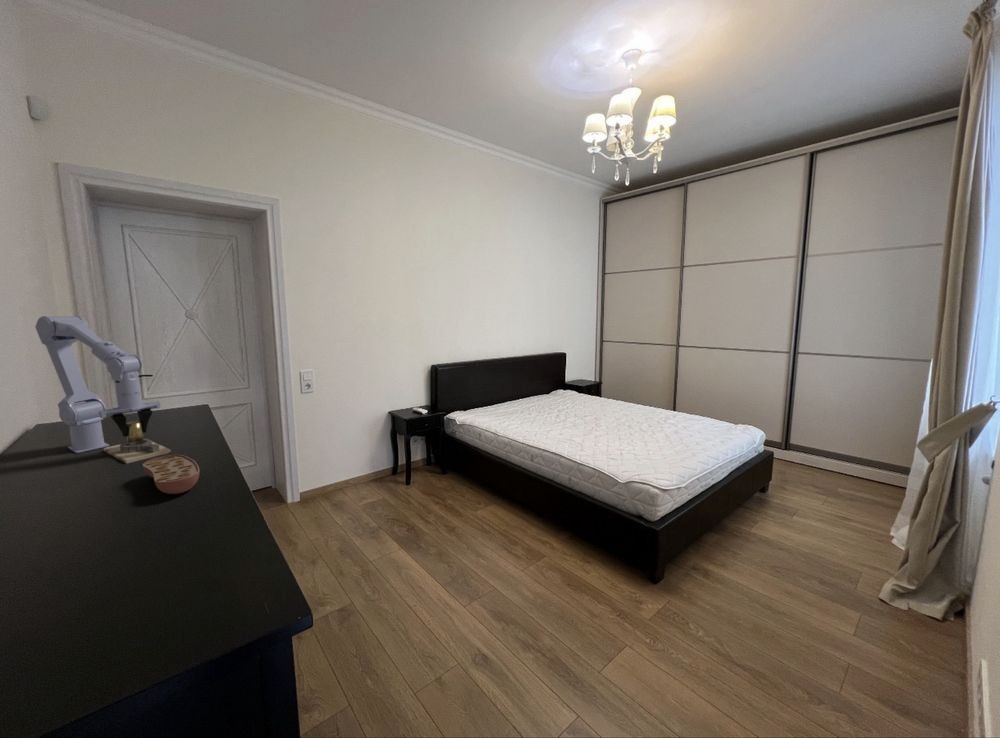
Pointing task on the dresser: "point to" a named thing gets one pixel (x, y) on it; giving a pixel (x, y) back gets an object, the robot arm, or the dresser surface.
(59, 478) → the dresser surface
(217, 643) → the dresser surface
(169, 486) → the anatomical model
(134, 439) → the cylinder
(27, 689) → the dresser surface
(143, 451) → the coupling plate
